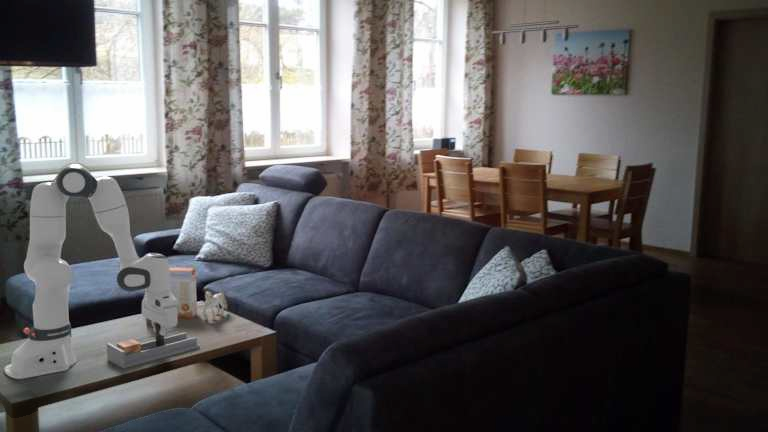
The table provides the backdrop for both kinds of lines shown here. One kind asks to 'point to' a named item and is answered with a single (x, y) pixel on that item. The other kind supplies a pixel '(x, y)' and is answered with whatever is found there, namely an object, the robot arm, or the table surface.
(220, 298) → the unicorn figurine
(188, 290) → the cracker box
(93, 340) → the table surface
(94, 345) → the table surface
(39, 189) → the robot arm
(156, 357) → the board
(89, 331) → the table surface
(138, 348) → the block and post stand
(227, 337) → the table surface
